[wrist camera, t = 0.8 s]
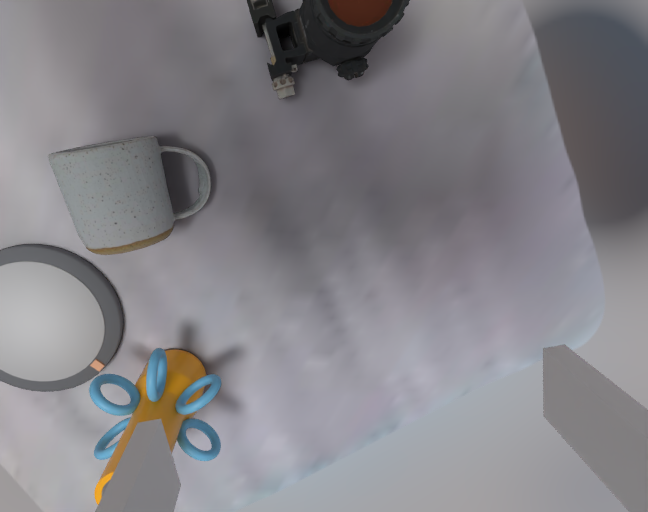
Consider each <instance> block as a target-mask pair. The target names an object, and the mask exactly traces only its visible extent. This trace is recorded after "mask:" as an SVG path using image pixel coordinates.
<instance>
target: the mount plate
mask: <svg viewBox="0 0 648 512" xmlns="http://www.w3.org/2000/svg"><path fill="white" fill-rule="evenodd" d="M122 332H123V313H122V309H121V305H120V302H119V299H118V297H117V294H116V293H115V291H114V289H113V287H112V286H111V284H110V283H109V282H108V280H107V279H106V278H105V277H104V275H103V274H102V273H101V272H100V271H99V270H98V269H96V268H95V267H94V266H93V265H92V264H91V263H89V262H87V261H86V260H84V259H83V258H81V257H79V256H78V255H76V254H74V253H72V252H69V251H66V250H64V249H61V248H57V247H53V246H48V245H41V244H24V245H16V246H12V247H8V248H5V249H2V250H0V381H2V382H5V383H7V384H9V385H12V386H15V387H18V388H21V389H26V390H31V391H42V392H46V391H60V390H65V389H69V388H73V387H76V386H78V385H81V384H83V383H85V382H87V381H89V380H90V379H92V378H93V377H94V376H96V375H97V374H98V373H99V372H100V371H101V370H102V369H103V368H104V367H105V366H106V365H107V363H108V362H109V361H110V359H111V358H112V357H113V355H114V354H115V352H116V350H117V348H118V346H119V343H120V341H121V337H122Z"/></svg>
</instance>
